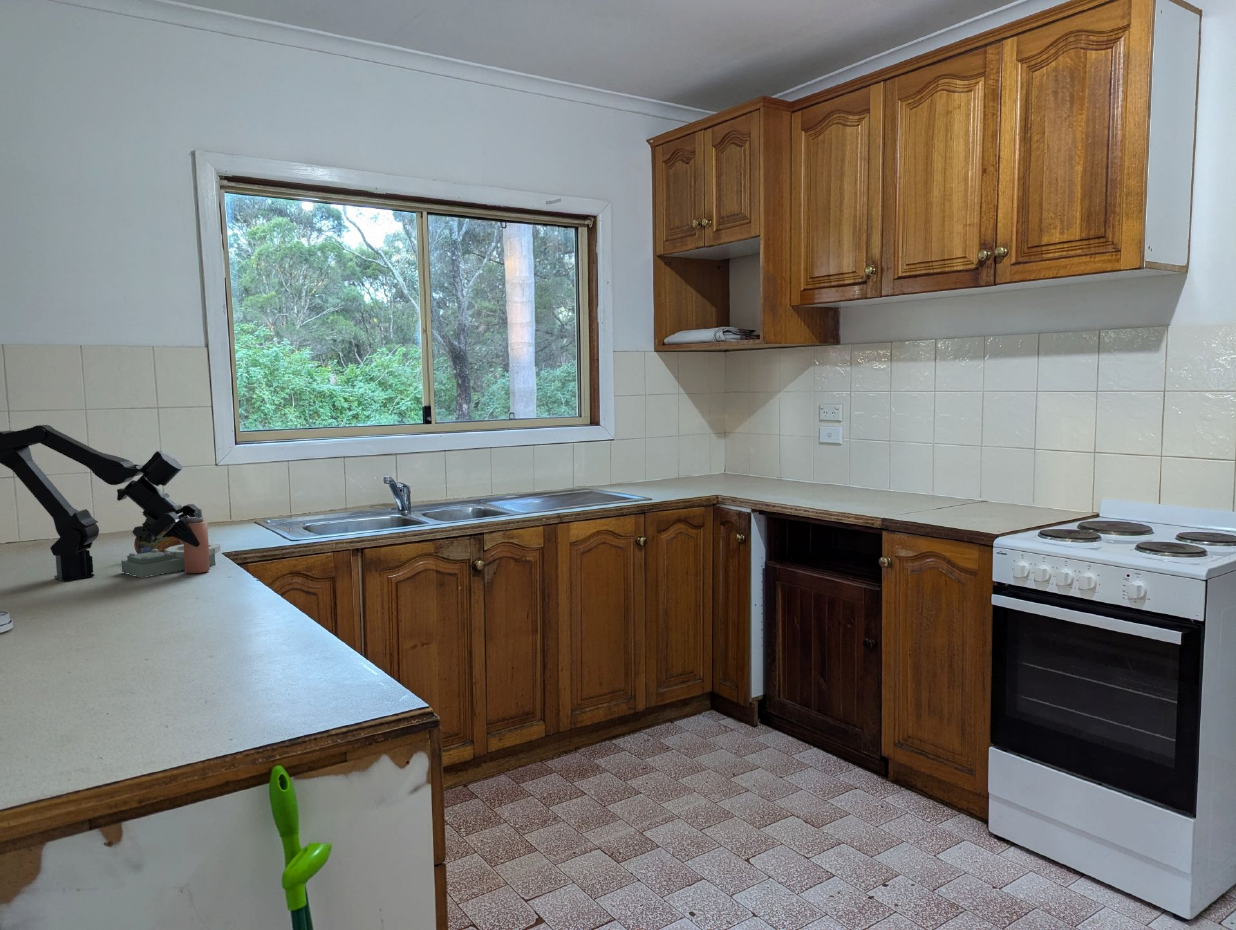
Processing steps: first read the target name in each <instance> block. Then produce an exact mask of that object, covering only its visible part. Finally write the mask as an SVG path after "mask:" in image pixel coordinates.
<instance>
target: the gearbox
mask: <svg viewBox="0 0 1236 930" xmlns="http://www.w3.org/2000/svg"><path fill="white" fill-rule="evenodd" d="M208 543H209V564H210V567H211V565H213V566H215V565H216V554H217V553H219V552H221V544H219V543H214V542H208ZM126 557H127V559H125V560H120V562H121V573H122V572H124V573H129V574H131V575H136V576H138V577H137V578H139V577H145V578H147V577H146V576H150V575H156V576H159V575H158V574H162V573H167V574H171V573H170V572H173V573H177V572H178V571H179V572H182V571H181V570H184V571H185V560H184V544H183V545H177V546H173V547H169V548H167V549H165V553H163V552H159V551H158V549H153V550H152V552H148V553H142V554H137V553H136V552H129V553H128V555H127V556H126ZM124 573H123V574H124ZM131 575H130V576H131ZM162 575H163V574H162ZM150 577H151V576H150Z"/></svg>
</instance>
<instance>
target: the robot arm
mask: <svg viewBox="0 0 1236 930" xmlns="http://www.w3.org/2000/svg"><path fill="white" fill-rule="evenodd" d="M37 444H41V445H43V446H45V447H46V448H49V449H51V450H52V451H55V452H57V453H59V454H61V455H63V456H65V457H67V458H69V459H71V460H73V461H75V462H76V463H79V464H81V465H83V466H85V467H86V468H88V469H89V470H90V471H91V472H92V473H93V475H94V476H96V477H98V479H100V480H101V481H103V482H104V483H106V484H107V485H110V486H118V485H121V484H125V483H128V484H126V485H125V487H123V488H117V489H116V492H117V493H116V494H117V495H116V496H117V497H116V500H117V501H118V502H119V501H123V500H126V499H127V498H128V499H130V500H131V501H132V502H133V503H135V504H136V505H137V506H138V507H140V509H142V512H141V513H142V516H144V517H145V520H144V522H143V523H141V524H142V525H137V526H134V528H133V530H132V532H131V533H132V534H133V535H134V537H135V538H136V539H138V540H139V542H142V541H144V542H147V543H149V544H151V543H152V542H156V541H157V539H158V537H160V536H161V533H162V532H163V531H165V532H166V533H165V534H164V535H163V536H162V537H163V538H165V537H176V538H178V539H180V540H182V541H184V542H186V543H189V544H191V545H193V546H195V547H198V546H199V545H200V543H199V541H198V539H197V537H196V536H195V534H194V533H193V531H192V529H191V528H190V526H189V524H188V523H187V518H189V517H197V509H200V508H199V507H197V506H196V505H195V504H194V503H189V504H185V505H181V504H178V505H177V503H175V502H174V501H173V500H171V499H170V498H169V497H170V496H171V495H170V494H168V492H166V493H163V492H162V491H161V490H160V489H159V488H157V487H159V486H163V487H165V486H167V485H168V484H169V482H171V481H172V480H173V479H174V478H175V477H176V476H177V475H178V474H179V473H180V472H181V471H182V470H183V465H182V464H181V463H180V462H179V461H178V460H177V459H176V458H174V457H171V456H170V455H169V454H166V453H164V452H163V451H162V450H156V451H155V452H154V453H153V455H152V456H151V457H150V459H149V460H147V461H146V463H144V464H137V463H136V464H134V462H132V461H131V460H130V459H126V458H123V457H120V456H118V455H113V454H109V453H104V452H102V451H98V450H96V449H95V448H93V447H91V446H90V445H87V444H85V443H83V442H81V441H78V440H77V439H75V438H73V437H71V436H69V435H67V434H65V433H63V432H61V431H59V430H57V429H55V428H54V427H53V426H51V425H48V424H38V425H37V424H36V425H33V426H32V427H29V428H24V429H19V430H3V431H2V430H0V464H1V465H2V466H5V467H6V468H7V469H10V470H11V471H12V472H13V473H14V475H16V477H18V479H19V480H20V481H21V483H23V485H24V486H25V487H26V488H27V489H28V491H29V492H30V493H31V494H32V496H34V498H35V500H37V501H38V502H39V504H40V505H41V506H42V507H43V508H44V510H45V511H46V513H48V515H50V517H51V518H52V519H53V523H54V527H55V531H56V533H57V534H58V536H59V538H58V539H57V540H56V541H55V542H54V543H53V544H52V545H50V548H49V549H50V551H51V553H52V555H53V556H55V567H56V575H53V576H54V577H53V578H54V579H56V580H60V581H63V582H67V581H68V582H69V581H73V580H74V579H75V580H81V579H85V578H86V577H87V578H92V577H95V573H94V561H93V559H94V558H93V556H92V555H91V553H90V550H89V549H91V547H92V545H93V544H94V543H93V542H94V541H96V540H97V538H98V537H99V533H100V528H99V525H97V524H98V523H99V521H98V520H97V519H95V518H94V517H93V516H92V515H91V513H90V511H89V510H88V509H86V508H85V509H81V510H77V508H75V507H73V506H72V504H70V502H69V501H68V500H67V499H66V498H65V496H64V495H63V494H62V493H61V492H60V490H59V489H58V488H57V487H56V486H55V485H54V483H53V482H52V481H51V480H50V479H49V477H48V476H47V475H46V474H45V473H44V472H43V470H42V469H41V468H40V466H38V464H37V463H36V462H35V460H34V459H33V456H32V452H31V448H30V446H34V445H37ZM137 476H140V477H139V478H138V479H136V480H133V479H134V478H135V477H137ZM87 578H86V579H87Z"/></svg>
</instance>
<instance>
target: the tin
mask: <svg viewBox="0 0 1236 930" xmlns="http://www.w3.org/2000/svg"><path fill="white" fill-rule="evenodd" d="M165 533H166V532H165V531H163V532H162V533H161V536H160V537H158V539H157V541H156V542H152V543H151V544H149V543H147V542H144V541H142V542H139V540H138V539H136V537H135V539H134V543H133V544H134V545H133V547H134V549H135V553H136V554H142V553H148V552H152V550H153V549H158V551H159V552H163V553H165V549H167V548H169V547H173V546H177V545H183V544H184V541H182V540H180V539H178V538H176V537H165V538H163V537H162V536H163V535H164V534H165Z"/></svg>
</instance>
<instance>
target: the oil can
mask: <svg viewBox="0 0 1236 930" xmlns="http://www.w3.org/2000/svg"><path fill="white" fill-rule="evenodd" d="M202 511H203V510H202V508H199V509H197V517H189V518H187V523H188V524H189V526H190V528H191V529H192V531H193V533H194V534H195V536H196V537H197V539H198V541H199V543H200V545H199V546H198V547H195V546H193V545H191V544H189V543H186V542H184V560H185V570H184V572H185V574H201V573H205V572H209V571H210V570H211V569H210V568H211V566H210V564H209V543H210V542H209V528H208V526H209V525H208V523H209V522H208V520H204V517H203V512H202Z"/></svg>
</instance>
